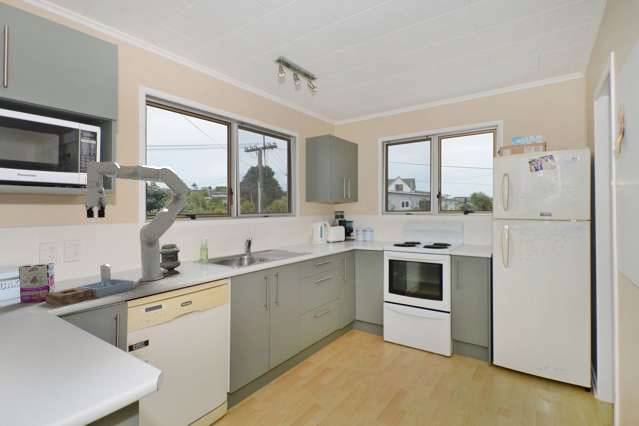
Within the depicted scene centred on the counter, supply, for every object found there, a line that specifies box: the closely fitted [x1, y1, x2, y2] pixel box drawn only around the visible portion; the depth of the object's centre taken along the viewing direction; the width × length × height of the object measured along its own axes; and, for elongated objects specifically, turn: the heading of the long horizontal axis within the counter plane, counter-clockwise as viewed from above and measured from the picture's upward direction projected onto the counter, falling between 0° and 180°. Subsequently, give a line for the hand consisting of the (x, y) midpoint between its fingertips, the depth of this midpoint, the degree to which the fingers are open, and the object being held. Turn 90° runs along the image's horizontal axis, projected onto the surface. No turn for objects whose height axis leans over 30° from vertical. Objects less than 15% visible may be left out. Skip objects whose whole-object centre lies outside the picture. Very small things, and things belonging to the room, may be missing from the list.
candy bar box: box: [18, 262, 56, 303], centre depth 145 cm, size 11×5×16 cm, turn 105°
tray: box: [76, 278, 135, 299], centre depth 157 cm, size 18×16×4 cm
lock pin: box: [99, 264, 112, 288], centre depth 157 cm, size 4×4×12 cm
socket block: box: [45, 286, 93, 307], centre depth 143 cm, size 12×12×4 cm
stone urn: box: [160, 243, 182, 276], centre depth 201 cm, size 12×12×18 cm
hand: (95, 217), depth 170 cm, fingers open, 9 cm apart
